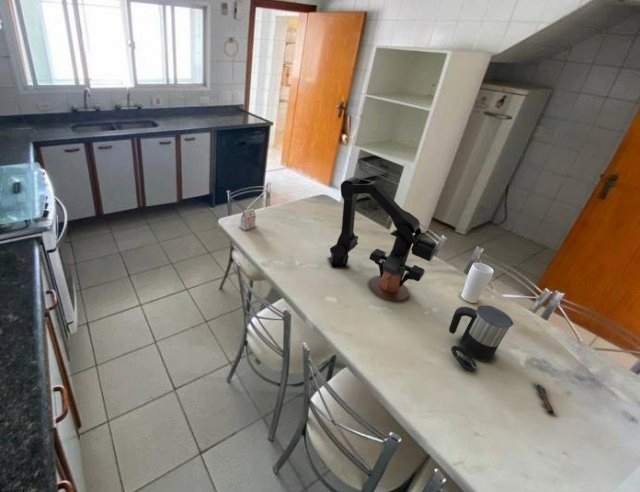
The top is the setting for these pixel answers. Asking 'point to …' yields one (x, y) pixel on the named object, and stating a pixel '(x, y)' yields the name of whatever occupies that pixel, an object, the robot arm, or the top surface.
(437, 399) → the top surface
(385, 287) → the orange mug
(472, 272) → the drinking glass
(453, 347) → the milk frother
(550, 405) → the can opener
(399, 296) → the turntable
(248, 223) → the milk carton
